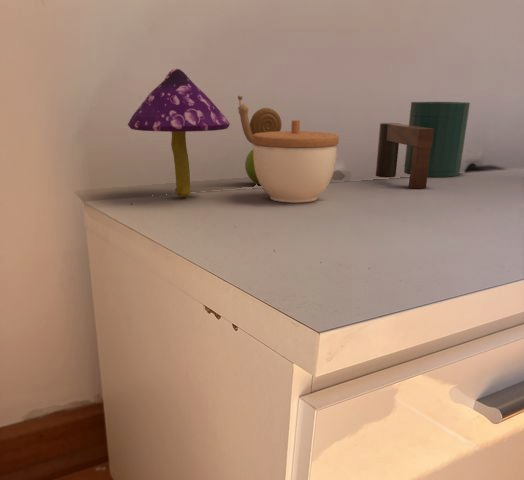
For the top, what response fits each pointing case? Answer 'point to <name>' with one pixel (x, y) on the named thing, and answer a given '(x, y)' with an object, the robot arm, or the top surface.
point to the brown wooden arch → (409, 136)
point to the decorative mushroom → (178, 119)
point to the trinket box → (294, 163)
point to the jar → (441, 135)
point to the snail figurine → (257, 130)
